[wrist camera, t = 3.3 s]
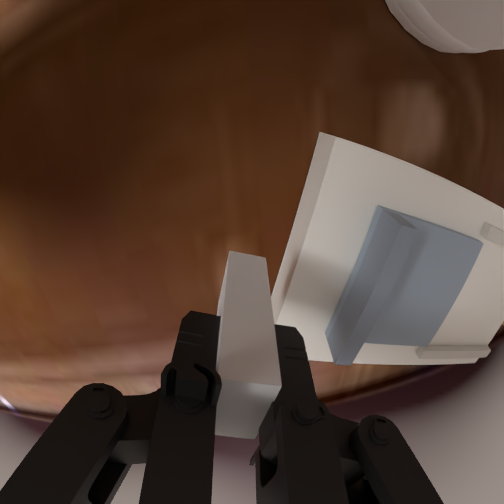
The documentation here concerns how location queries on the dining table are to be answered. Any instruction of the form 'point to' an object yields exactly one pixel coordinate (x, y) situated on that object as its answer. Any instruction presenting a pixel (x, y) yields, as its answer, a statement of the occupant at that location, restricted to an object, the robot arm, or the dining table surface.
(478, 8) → the bottle
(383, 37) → the dining table surface
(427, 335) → the shutter
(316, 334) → the socket
